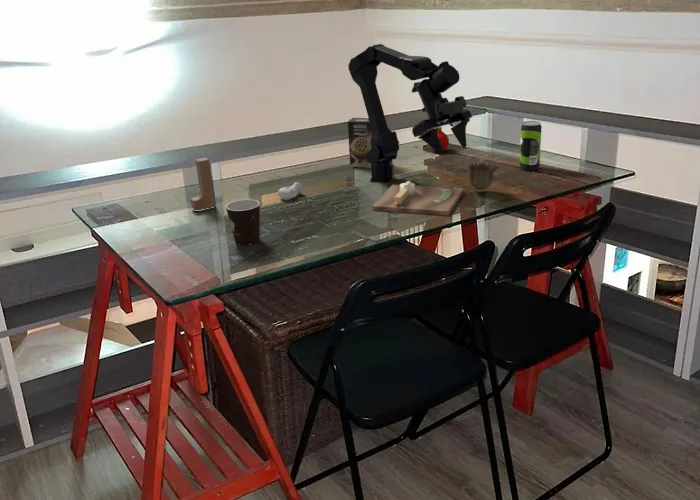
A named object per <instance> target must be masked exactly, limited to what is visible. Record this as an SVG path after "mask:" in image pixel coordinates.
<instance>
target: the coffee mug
mask: <svg viewBox="0 0 700 500" xmlns="http://www.w3.org/2000/svg"><path fill="white" fill-rule="evenodd" d="M225 209H226V212H227V217H228V220H229V224H230V228H231V232H232V235H233V239H234V242H235V244H236V243H237V244H240V245H249V244H253V245H256V244H258V243H259V242H260V241H261V219H260V218H261V203H260V201H259V200H256V199H249V198H248V199H244V198H243V199H238V200H234V201H231V202H229V203H227V204H226V206H225ZM255 243H256V244H255ZM237 244H236V245H237ZM240 245H239V246H240ZM249 246H250V245H249Z"/></svg>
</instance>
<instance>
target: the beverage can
mask: <svg viewBox="0 0 700 500" xmlns="http://www.w3.org/2000/svg"><path fill="white" fill-rule="evenodd" d="M521 124H522V125H521V127H520V148H519V153H520V154H519V168H520V169H521V170H522V171H524V172H525V171H526V172H533V171H537V170H538V169H539V168H540V162H541V144H542V142H541V141H542V125H541V124H542V122H541V121H537V120H528V121H522V123H521Z"/></svg>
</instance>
